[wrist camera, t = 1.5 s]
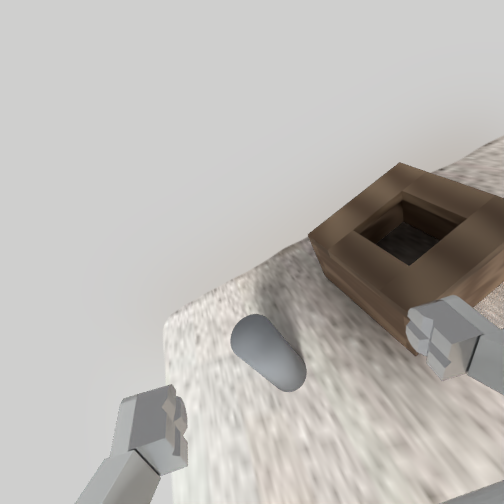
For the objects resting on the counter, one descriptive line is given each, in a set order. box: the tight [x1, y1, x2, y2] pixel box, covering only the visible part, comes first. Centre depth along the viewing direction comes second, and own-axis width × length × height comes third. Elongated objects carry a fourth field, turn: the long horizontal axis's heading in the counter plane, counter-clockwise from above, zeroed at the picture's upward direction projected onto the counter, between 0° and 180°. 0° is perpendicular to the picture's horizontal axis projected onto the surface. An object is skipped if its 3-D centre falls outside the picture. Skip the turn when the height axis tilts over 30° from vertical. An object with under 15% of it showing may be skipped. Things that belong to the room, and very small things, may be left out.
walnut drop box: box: [308, 163, 504, 356], centre depth 36 cm, size 16×16×10 cm
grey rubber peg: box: [231, 314, 306, 392], centre depth 34 cm, size 5×5×12 cm
